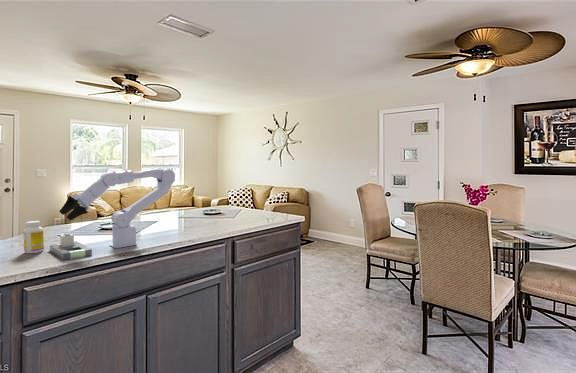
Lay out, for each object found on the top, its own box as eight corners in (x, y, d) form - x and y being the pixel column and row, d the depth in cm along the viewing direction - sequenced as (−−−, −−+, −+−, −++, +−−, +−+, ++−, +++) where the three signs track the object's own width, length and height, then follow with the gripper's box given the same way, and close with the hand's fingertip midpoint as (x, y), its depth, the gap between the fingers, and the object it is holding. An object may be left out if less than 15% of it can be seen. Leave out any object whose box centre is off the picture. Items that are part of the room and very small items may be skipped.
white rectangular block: (71, 249, 145) (70, 232, 145) (74, 251, 142) (73, 233, 142) (60, 251, 142) (60, 233, 142) (63, 252, 139) (62, 235, 139)
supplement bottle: (47, 249, 144) (46, 220, 143) (36, 253, 137) (35, 223, 136) (31, 249, 143) (30, 220, 143) (20, 253, 137) (19, 223, 136)
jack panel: (76, 246, 150) (76, 241, 149) (91, 255, 136) (91, 249, 136) (49, 250, 142) (49, 244, 142) (63, 260, 129) (63, 253, 129)
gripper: (90, 194, 151) (64, 215, 145) (79, 181, 138) (50, 204, 132) (102, 203, 150) (76, 225, 145) (91, 191, 137) (63, 215, 132)
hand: (64, 216), depth 138 cm, fingers open, 7 cm apart
